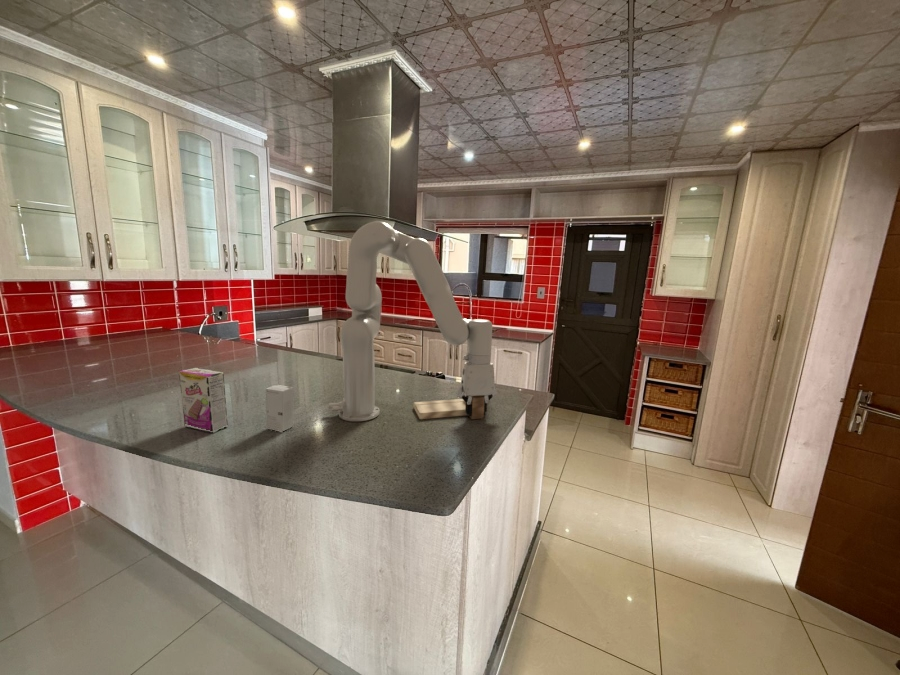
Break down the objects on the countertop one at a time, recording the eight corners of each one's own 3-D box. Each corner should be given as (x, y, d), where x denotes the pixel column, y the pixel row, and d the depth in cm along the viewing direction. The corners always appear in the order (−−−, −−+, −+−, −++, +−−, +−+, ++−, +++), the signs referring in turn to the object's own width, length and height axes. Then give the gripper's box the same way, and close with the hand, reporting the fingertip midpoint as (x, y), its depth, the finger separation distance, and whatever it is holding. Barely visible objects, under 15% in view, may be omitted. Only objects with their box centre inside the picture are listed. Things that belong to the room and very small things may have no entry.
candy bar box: (183, 427, 97) (177, 371, 94) (200, 421, 101) (196, 367, 99) (211, 434, 93) (206, 375, 91) (229, 427, 98) (224, 371, 95)
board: (419, 419, 108) (419, 412, 108) (413, 407, 117) (413, 402, 117) (485, 413, 114) (485, 407, 114) (474, 403, 124) (474, 397, 123)
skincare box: (265, 429, 97) (263, 388, 95) (278, 423, 101) (275, 384, 99) (283, 433, 95) (281, 391, 93) (295, 427, 100) (293, 386, 98)
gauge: (471, 419, 109) (472, 396, 107) (459, 405, 120) (460, 384, 119) (483, 418, 110) (484, 395, 109) (470, 404, 121) (471, 383, 120)
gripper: (456, 362, 102) (454, 421, 105) (508, 360, 107) (504, 416, 110) (449, 357, 109) (447, 412, 112) (498, 355, 114) (495, 408, 117)
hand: (475, 413), depth 111 cm, fingers closed on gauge, 4 cm apart
